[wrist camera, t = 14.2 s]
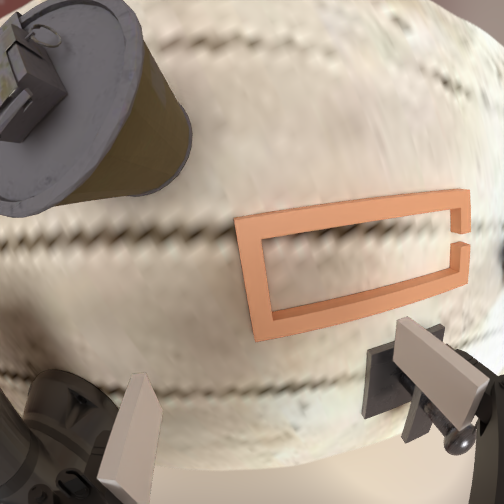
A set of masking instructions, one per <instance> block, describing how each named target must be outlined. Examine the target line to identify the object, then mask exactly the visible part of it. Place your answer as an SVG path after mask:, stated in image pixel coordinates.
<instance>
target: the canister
mask: <svg viewBox="0 0 504 504" xmlns="http://www.w3.org/2000/svg"><path fill="white" fill-rule="evenodd" d="M191 144H192V129H191V123H190V121H189V118H188V115H187V113H186V112H185V110H184V108H183V107H182V106H181V105H180V104H179V102H177V100H176V98H175V96H174V94H173V93H172V91H171V89H170V87H169V85H168V83H167V82H166V80H165V78H164V76H163V74H162V73H161V71H160V69H159V67H158V65H157V63H156V62H155V60H154V58H153V56H152V54H151V53H150V51H149V49H148V47H147V45H146V44H145V42H144V40H143V35H142V28H141V25H140V23H139V21H138V19H137V16H136V14H135V13H134V11H133V10H132V9H131V8H130V7H129V6H128V5H127V4H126V3H125V2H124V1H123V0H47V1H45V2H43V3H41V4H39V5H37V6H35V7H34V8H32V9H31V10H29V11H28V12H27V13H25V14H24V15H21V14H20V13H19V12H15V13H14V14H13V15H12V16H11V17H10V18H9V19H8V20H7V21H6V22H5V23H4V24H3V25H2V26H1V27H0V215H3V216H7V217H12V218H23V217H27V216H32V215H36V214H39V213H41V212H43V211H45V210H47V209H49V208H51V207H54V206H60V205H66V204H72V203H78V202H84V201H91V200H98V199H105V198H112V197H120V196H133V197H136V196H144V195H148V194H151V193H154V192H156V191H158V190H160V189H162V188H163V187H165V186H166V185H168V184H169V183H170V182H171V181H172V180H173V179H174V178H175V177H176V176H178V174H179V173H180V171H181V170H182V168H183V166H184V165H185V163H186V161H187V159H188V157H189V153H190V150H191Z"/></svg>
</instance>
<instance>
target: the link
mask: <svg viewBox="0 0 504 504" xmlns="http://www.w3.org/2000/svg"><path fill="white" fill-rule="evenodd" d="M448 209H450V212H451V232H455V233H458V234H465V233H469V232H471V205H470V190H466V189H451V190H440V191H430V192H420V193H410V194H401V195H392V196H383V197H374V198H366V199H358V200H350V201H342V202H335V203H328V204H320V205H313V206H306V207H299V208H293V209H286V210H279V211H273V212H266V213H260V214H254V215H248V216H242V217H236V218H234V223H235V229H236V235H237V241H238V247H239V253H240V259H241V265H242V271H243V277H244V283H245V288H246V294H247V300H248V306H249V311H250V317H251V323H252V329H253V334H254V339H255V342H259V341H265V340H270V339H275V338H280V337H285V336H290V335H295V334H299V333H304V332H308V331H313V330H317V329H321V328H325V327H330V326H334V325H338V324H342V323H346V322H349V321H353V320H357V319H361V318H364V317H368V316H371V315H375V314H378V313H382V312H385V311H389V310H392V309H395V308H399V307H402V306H405V305H408V304H411V303H414V302H417V301H420V300H423V299H426V298H429V297H432V296H435V295H438V294H441V293H444V292H446V291H449V290H452V289H455V288H457V287H460V286H463V285H465V284H468V274H469V261H470V244H467V243H464V242H456V243H452V244H451V250H450V268H448V269H445V270H441V271H438V272H435V273H431V274H428V275H425V276H421V277H418V278H414V279H411V280H407V281H403V282H400V283H396V284H392V285H389V286H385V287H381V288H377V289H373V290H369V291H365V292H361V293H357V294H353V295H349V296H344V297H340V298H336V299H331V300H327V301H322V302H318V303H313V304H309V305H304V306H299V307H294V308H289V309H284V310H279V311H274V312H272V311H271V304H270V297H269V290H268V284H267V277H266V270H265V263H264V256H263V249H262V243H261V239H265V238H271V237H277V236H283V235H289V234H295V233H301V232H308V231H314V230H320V229H326V228H332V227H338V226H345V225H351V224H357V223H363V222H370V221H376V220H382V219H389V218H395V217H402V216H408V215H415V214H422V213H428V212H435V211H442V210H448Z"/></svg>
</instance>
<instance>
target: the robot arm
mask: <svg viewBox="0 0 504 504" xmlns="http://www.w3.org/2000/svg"><path fill="white" fill-rule="evenodd" d="M393 361H394V362H395V363H396V365H397V366H398V367H399V368H400V369H401V370H402V371H403V372H404V373H405V374H406V375H407V376H408V377H409V378H410V379H411V380H412V381H413V382H414V383H415V384H416V385H417V387H418V388H419V389H420V390H421V391H422V392H423V393H424V394H425V395H426V396H427V397H428V398H429V399H430V400H431V401H432V402H433V404H434V405H435V406H436V407H437V408H438V409H439V410H440V411H441V412H442V413H443V414H444V415H445V416H446V418H447V419H448V420H449V421H450V422H451V423H452V424H453V425H454V426H455V427H456V428H457V430H458V431H461V430H462V429H464V428H465V427H467V426H468V425H470V424H471V422H472V420H473V418H474V416H475V415H476V416H477V417H478V420H477V422H476V424H475V426H474V428H473V430H472V434H474V432H475V430H476V429H477V432H476V451H475V463H474V472H473V480H472V487H471V493H470V499H469V504H504V375H500V376H497V375H496V374H494V373H493V372H492V371H490V370H489V369H488V368H487V367H485V366H484V365H483V364H481V363H480V362H478V361H477V360H476V359H475V358H474V359H473V357H472V356H471V355H469V354H468V353H467V352H465V351H462V350H459V349H456V350H452V349H451V348H450V347H448V346H447V345H446V344H444V343H443V342H442V341H441V340H439V339H438V338H437V337H435V336H434V335H433V334H431V333H430V332H429V331H427V330H426V329H424V328H423V327H422V326H420V325H419V324H418V323H416V322H415V321H414V320H412V319H411V318H410V317H408V316H407V317H404V318H401V319H398V320H397V323H396V335H395V346H394V355H393ZM162 416H163V410H162V407H161V405H160V403H159V401H158V399H157V397H156V394H155V392H154V390H153V388H152V385H151V383H150V381H149V378H148V376H147V373H135V374H132V376H131V379H130V381H129V384H128V387H127V389H126V392H125V395H124V397H123V400H122V403H121V406H120V408H119V410H118V409H117V407H116V406H115V405H114V404H113V403H112V401H111V400H110V399H109V398H108V397H107V396H106V395H104V394H103V393H102V392H101V391H100V390H98V389H97V388H96V387H94V386H93V385H92V384H90V383H89V382H87V381H85V380H83V379H82V378H80V377H78V376H75V375H73V374H71V373H68V372H64V371H60V370H47V371H43V372H41V373H40V374H39V375H38V376H37V377H36V379H35V380H34V381H33V382H32V384H31V386H30V388H29V392H28V399H27V402H26V406H25V410H24V414H23V418H21V417H20V416H19V414H18V413H17V412H16V410H15V409H14V407H13V406H12V404H11V403H10V402H9V400H8V399H7V397H6V396H5V394H4V393H3V391H2V389H1V388H0V504H149V502H150V494H151V486H152V479H153V471H154V465H155V458H156V451H157V445H158V439H159V433H160V427H161V421H162Z"/></svg>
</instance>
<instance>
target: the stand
mask: <svg viewBox="0 0 504 504" xmlns="http://www.w3.org/2000/svg"><path fill="white" fill-rule="evenodd" d="M426 330H427V331H429V332H430V333H431V334H433V335H434V336H435V337H437V338H438V339H439V340H441V341H442V342H443V336H444V331H445V327H444V326H442V325H441V324H438V325H436V326H434V327H431V328H429V329H426ZM446 345H447V346H448V347H450V348H451V349H452V350H454V349H453V348H452V347H451V346H449V345H448V344H446ZM394 346H395V341H394V342H391V343H388V344H385V345H382V346H379V347H376V348H372V349H369V350H367V365H366V378H365V389H364V398H363V407H362V416H363V417H364V419H367V418H370V417H372V416H375V415H378V414H380V413H383V412H386V411H388V410H391V409H393V408H396V407H398V406H400V405H403V404H405V403H407V402H410V401H411V405H410V409H409V412H408V416H407V419H406V423H405V426H404V429H403V433H402V436H401V437H402V439H403V441H404V442H405V443H408V442H410V441H412V440H414V439H416V438H419V437H421V436H422V435H424V434H426V433H428V432H429V430H430V428H431V425H432V422H433V423H434V424H435V426H436V427H437V428H438V429H439V430H440V432H441V433H442V434H443V436H444V437H445V438H444V448H445V450H446V451H447V452H448V453H449V454H451V455H461V454H464V453H466V452H467V451H468V450H469V449H470V448H471V447H472V446H473V444H474V443H475V440H476V430H475V432H474V434H472V430H473V428H474V426H473V425H472V424H470V425H468V426H467V427H465V428H464V429H462V430H461V431H458V430H457V428H456V427H455V426H454V425H453V424H452V423H451V422H450V421H449V420H448V419H447V418H446V416H445V415H444V414H443V413H442V412H441V411H440V410H439V409H438V408H437V407H436V406H435V405H434V404H433V402H432V401H431V400H430V399H429V398H428V397H427V396H426V395H425V394H424V393H423V392H422V391H421V390H420V389H419V388H418V387H417V385H416V384H415V383H414V382H413V381H412V380H411V379H410V378H409V377H408V376H407V375H406V374H405V373H404V372H403V371H402V370H401V369H400V368H399V367H398V366H397V365H396V363H395V362H394V361H393V355H394Z"/></svg>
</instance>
